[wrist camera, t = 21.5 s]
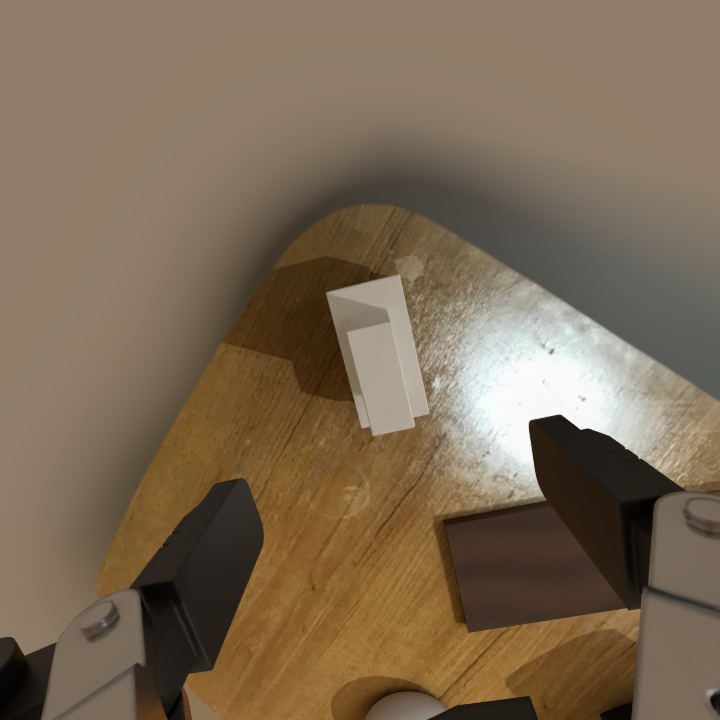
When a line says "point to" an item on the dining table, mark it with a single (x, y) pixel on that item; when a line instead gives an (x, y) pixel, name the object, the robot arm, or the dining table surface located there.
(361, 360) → the white stepped wedge block
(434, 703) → the donut
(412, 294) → the dining table surface
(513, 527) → the board
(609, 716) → the baking dish
